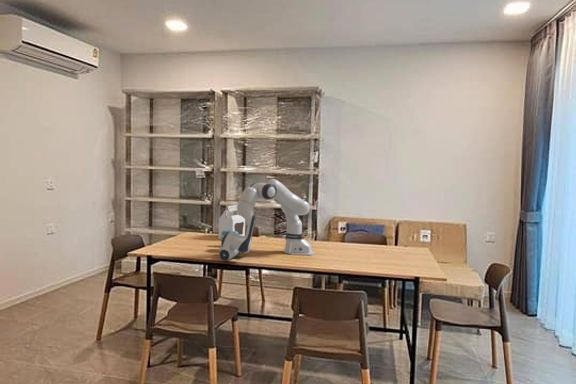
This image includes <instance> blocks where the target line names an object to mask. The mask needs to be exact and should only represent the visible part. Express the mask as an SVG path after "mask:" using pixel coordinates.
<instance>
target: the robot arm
mask: <svg viewBox="0 0 576 384" xmlns="http://www.w3.org/2000/svg"><path fill="white" fill-rule="evenodd" d="M272 199H275V200H276V201H277V202H278V203H279V204H280V209H281V210H282V213H284V218H285V220H286V233H285V247H284V250H283V253H285V254H288V255H290V256H291V255H292V256H295V255H296V256H313V255H315V250H313V249H312V248H313V247H312V245H311V243H310V242H308V240H306V239H305V234H304V233H303V222H302V221H301V219H300V217H299V216H305V215H308V213H309V212H310V209H311V206H310V204H309V202H308V201H305V200H304V199H302V198H300V196H298V195H296V194H294V193H293V192H292V191H291V190H290V189H288V188H287V187H286V186H285V185H284V184H283V183H282V182H280V181H279V180H277V179H275V178H272V179H270V180H268V181H267V183H266V182H254V183H252V184H251V185H250V186H248V187H246V188H244V190H243V191H242V194H241V195H240V197H239V199H238V202H237V204H236V205H237V211H238V213H239V214H240V215H241V216H242V217H243V218H244V219H245V222H247V228H246V230H245V236H241V235H238V234H236V233H233V232H228V233H226V234H225V235H224V237H223V239H222V243H221V242H220V244H219V252H218V256H219V257H220V259H221V260H223V261H229V260H231V259H233V258H234V257H236V256H237V255H238V254H243V253H245V254H247V253H249V252H251V246H252V239H253V235H254V229H255V224H256V218H257V217H256V214H255V213H254V211H255V206H256V203H257V201H258V200H272ZM239 214H238V215H239Z"/></svg>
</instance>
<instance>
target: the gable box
mask: <svg viewBox="0 0 576 384" xmlns="http://www.w3.org/2000/svg"><path fill="white" fill-rule="evenodd" d="M231 212H233V214H231ZM225 230H227V231H237V232H238V235H241V236H246V219H244V218H243V217H242V216H241V215H240V214H239V213H238V211H237V204H235V205H227V208H226V209H225V210H224V211H223V213H222V214H221V216H220V217H219V219H218V240H220V241H221V239H222V238H221V236H222V232H223V231H225Z"/></svg>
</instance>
